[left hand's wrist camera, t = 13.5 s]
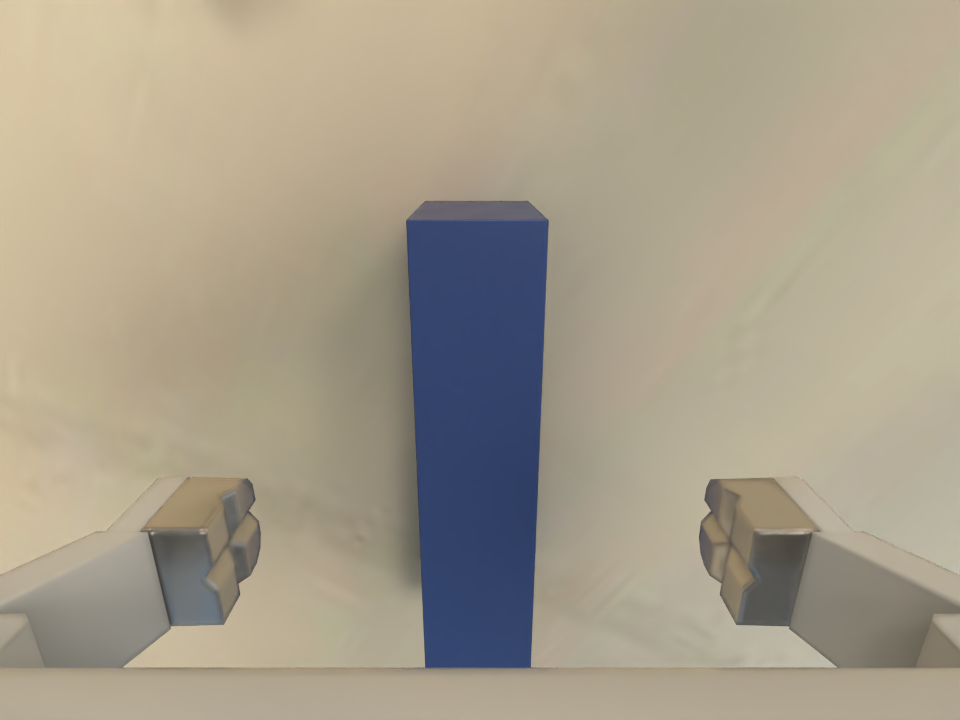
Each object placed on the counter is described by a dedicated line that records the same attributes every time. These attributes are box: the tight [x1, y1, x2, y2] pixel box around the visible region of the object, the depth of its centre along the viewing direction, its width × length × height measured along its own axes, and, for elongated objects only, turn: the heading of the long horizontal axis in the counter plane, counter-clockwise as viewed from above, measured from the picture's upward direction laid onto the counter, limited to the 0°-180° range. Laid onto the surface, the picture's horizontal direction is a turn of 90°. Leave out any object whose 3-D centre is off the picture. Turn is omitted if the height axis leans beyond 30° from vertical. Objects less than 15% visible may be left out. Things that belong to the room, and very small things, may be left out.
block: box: [406, 201, 549, 668], centre depth 30 cm, size 23×6×9 cm, turn 0°
